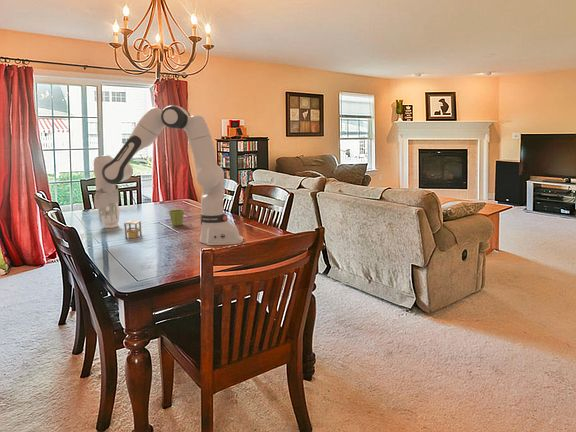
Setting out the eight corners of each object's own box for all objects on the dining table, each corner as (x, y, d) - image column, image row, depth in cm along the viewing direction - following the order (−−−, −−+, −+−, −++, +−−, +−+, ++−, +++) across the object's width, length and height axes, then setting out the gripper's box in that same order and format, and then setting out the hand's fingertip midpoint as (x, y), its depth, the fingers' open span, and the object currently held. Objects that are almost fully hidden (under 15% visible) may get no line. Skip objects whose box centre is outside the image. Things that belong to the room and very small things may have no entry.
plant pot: (166, 226, 255) (165, 212, 254) (173, 223, 264) (172, 209, 263) (181, 226, 254) (180, 212, 252) (187, 223, 263) (187, 209, 261)
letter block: (138, 236, 232) (138, 228, 231) (135, 237, 228) (135, 230, 227) (131, 235, 232) (130, 228, 231) (128, 237, 228) (127, 230, 228)
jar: (124, 226, 256) (122, 201, 253) (109, 229, 247) (106, 203, 245) (113, 224, 262) (111, 200, 259) (98, 227, 253) (95, 202, 250)
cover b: (117, 218, 223) (116, 203, 221) (112, 221, 216) (110, 205, 215) (105, 218, 223) (103, 203, 221) (99, 221, 217) (98, 205, 215)
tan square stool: (141, 235, 233) (140, 220, 232) (137, 238, 227) (136, 223, 225) (130, 235, 233) (129, 220, 232) (125, 238, 227) (124, 223, 226)
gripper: (102, 190, 206) (105, 218, 209) (119, 185, 226) (122, 210, 229) (89, 190, 206) (92, 218, 209) (108, 185, 226) (110, 211, 229)
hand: (108, 214), depth 219 cm, fingers closed on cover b, 6 cm apart
